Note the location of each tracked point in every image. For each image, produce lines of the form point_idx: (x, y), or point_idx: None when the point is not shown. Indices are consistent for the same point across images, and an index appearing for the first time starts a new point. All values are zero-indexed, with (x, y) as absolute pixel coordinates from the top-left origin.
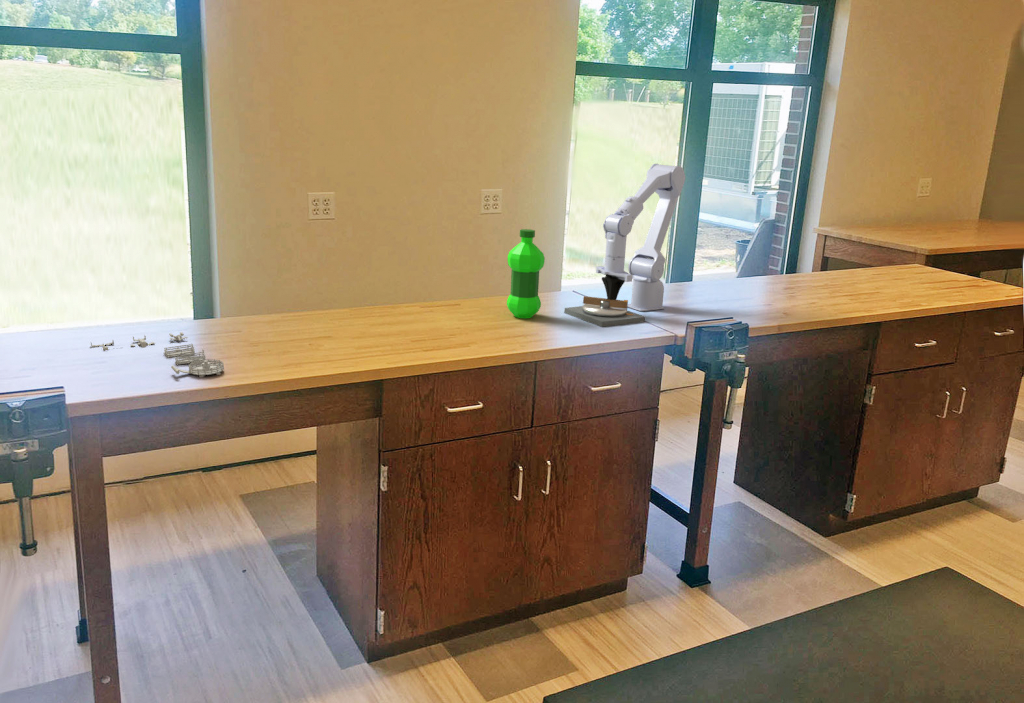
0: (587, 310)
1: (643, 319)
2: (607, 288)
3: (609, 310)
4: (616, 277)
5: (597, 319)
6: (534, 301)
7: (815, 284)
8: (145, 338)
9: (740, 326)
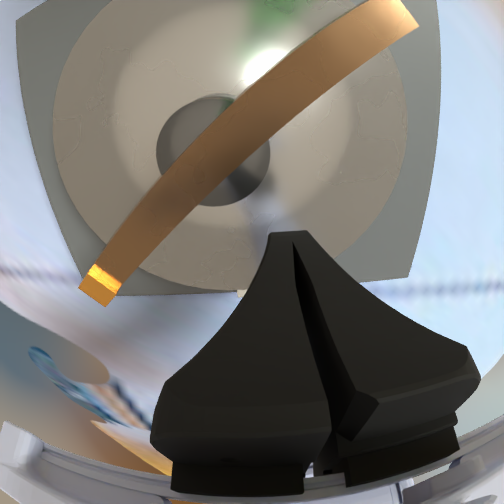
0: None
1: None
2: (322, 298)
3: (108, 120)
4: (187, 491)
5: (57, 2)
6: None
7: None
8: None
9: (86, 408)
